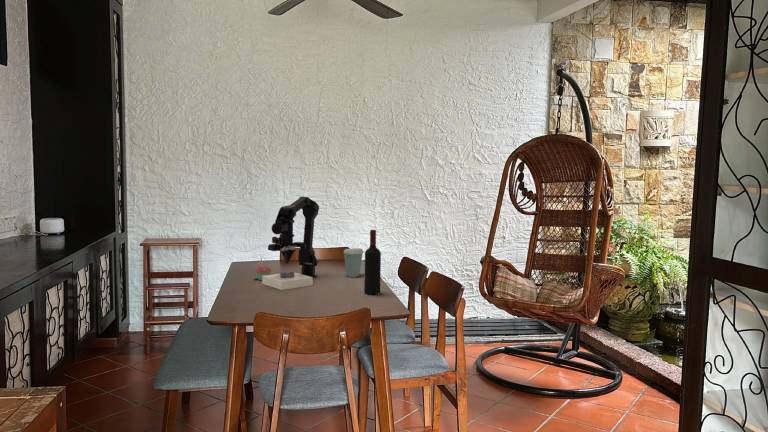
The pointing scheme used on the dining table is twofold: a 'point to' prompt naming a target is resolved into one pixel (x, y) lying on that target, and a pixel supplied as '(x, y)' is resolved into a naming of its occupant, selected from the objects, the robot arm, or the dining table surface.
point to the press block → (287, 281)
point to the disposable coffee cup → (353, 261)
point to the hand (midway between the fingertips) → (287, 263)
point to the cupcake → (262, 271)
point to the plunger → (287, 274)
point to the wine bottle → (372, 267)
